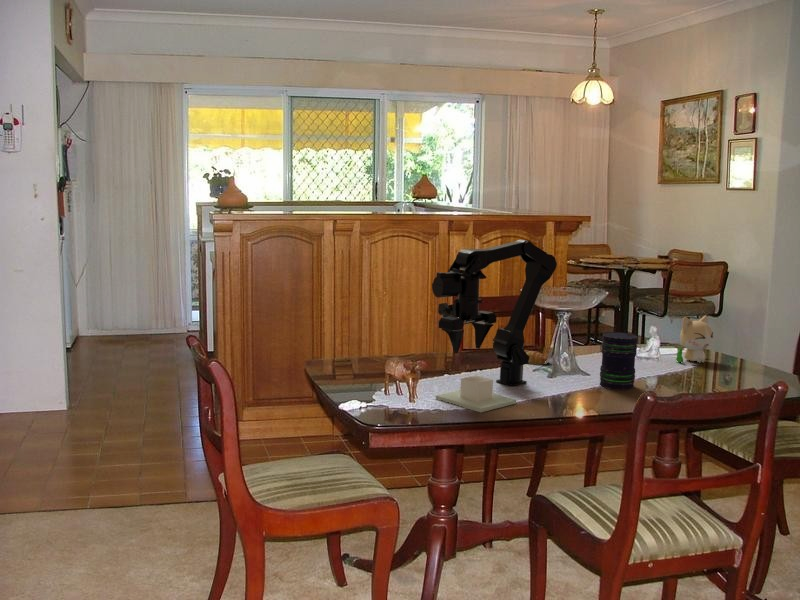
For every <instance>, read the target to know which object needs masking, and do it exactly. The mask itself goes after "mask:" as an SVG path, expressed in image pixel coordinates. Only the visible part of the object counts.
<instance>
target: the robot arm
mask: <svg viewBox="0 0 800 600" xmlns="http://www.w3.org/2000/svg"><path fill="white" fill-rule="evenodd" d="M516 257H520V259H521V260H522V262H524V263H525V264H526V265H525V268H524V271H525V272H524V274H525V281H524V283H523V286H522V288H521V291H520V292H519V295H518V298H517V301H516V303H515V305H514V308H513V310H512V312H511V315H510V318H509V320H508V323H507V325H506V326H504V327H503V328H500V327H498V328H497V330H496V333H495V335H494V338H492V340H491V341H492V342H493V343H492V349H493V351H494V353H495V356H496V359H497V360H499V361H501V362H500V368H499V369H500V370H499V372H500V373H499V379H496V380H495V382H496V383H499V384H504V385H507V386H510V387H515V386H519V385H524V384H526V383H527V380H524V379H523V378H524V376H523V375H524V365H528V364H529V363H528V361H529V358H530V357H529V356H528V355H527V354H526V352H525V351H524V350H525V349H524V345H525V335H524V331H525V329H526V326H527V324H528V321H529V319H530V316H531V313H532V312H533V309H534V306H535V304H536V301H537V299H538V297H539V294H540V292H541V289H542V287H543V286H544V284H545V283H547V282H548V281H549V280H550V279H551V278H552V276H553V275H554V273H555V271H556V269H557V265H558V262H557V260H556V257H555V256H554V255H553V254H550V253H548V252H547V251H544V250H543V249H541V248H540V247H538V246H536V245H535V244H534V243H533V242H531V240H526V239H517V240H516V241H511V242H507V243H504V244H500V245H496V246H491V247H487V248H463V249H460V250H458V252H457V254H456V257H455V259H454V260H453V262H452V264H451V265H450V267H449V269H448V270H447V272H441V271H437V272H436V276H435V277H434V278H433V282H432V283H431V290H432V293H433V295H434V297H436V298H437V299H438V298H451V297H457V298H454V301H453V303H451V304H448V303H447V302H442V303H439V304H438V306H437V307H438V308H437V311H438V314H439V316H442V317H440V318H439V320H438V322H437V323H438V329H441V330H442V331H443V332H445V333H446V334H447V335H448V338H449V340H450V344H451V346H452V349H453V353H454V354H459V352H460V350H461V349H460V348H461V345H462V340H463V337H464V333H465V330H464V329H463V328H464V325H466V324H468V325H469V324H471V325H472V327H473V328H474V340H475V342H474V344H475V348H476V349H480V348H481V347H482V344H483V342H484V340H485V339H486V337H487V335H488V334H489V331H490V330H491V329H492V327H493V326H494V324H496V323H497V315H496V314H495V312H492V311H488V310H479V309H480V306H479V305H480V304H483V299H482V298H480V280H484V279H485V280H486V279H487V276H486V274H484V273H483V271H482V270H484V269H486V268H488V266H490V265H491V264H493V263H496V262H500V261H504V260H507V259H512V258H516Z"/></svg>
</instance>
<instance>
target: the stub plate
mask: <svg viewBox="0 0 800 600" xmlns="http://www.w3.org/2000/svg"><path fill="white" fill-rule="evenodd" d="M435 399H436V400H438V399H439V400H438V401H441V400H443V401H442V402H444V401H446V402H445V403H447V402H449V403H448V404H451V403H453V404H452V405H454V404H456V405H455V406H457V405H459V406H458V407H461V406H462V407H461V408H465V409H468V410H471V411H473V412H474V411H475V412H478V413H484V412H488V411H491V410H496V409H500V408H503V407H507V406H511V405H515V404H517V399H516V398H512V397H508V396H504V395H502V394H498V393H493V394H492V398H491V399H487V400H482V401H478V402H476V401H472V400H469V399H466V398H462V397H460V389H457V390H454V391H449V392H445V393H441V394H436V395H435Z"/></svg>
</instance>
